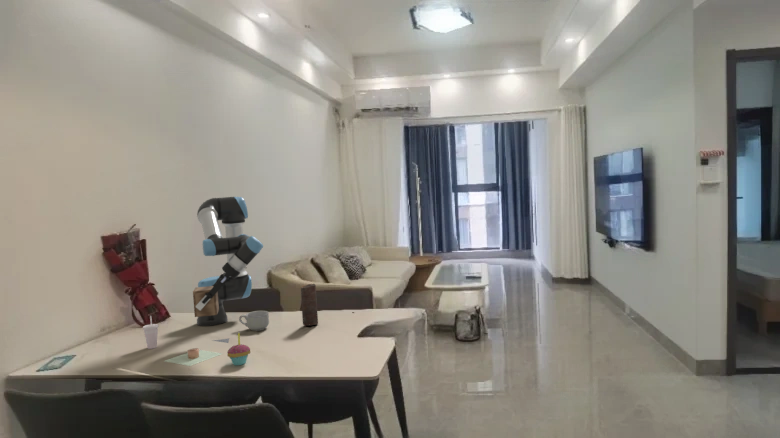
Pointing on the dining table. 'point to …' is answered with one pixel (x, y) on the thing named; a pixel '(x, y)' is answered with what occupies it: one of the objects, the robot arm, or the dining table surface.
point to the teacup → (256, 320)
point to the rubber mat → (222, 340)
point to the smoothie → (151, 334)
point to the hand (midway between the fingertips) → (199, 305)
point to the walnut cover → (211, 306)
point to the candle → (309, 305)
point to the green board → (185, 361)
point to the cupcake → (238, 353)
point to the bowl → (193, 353)
